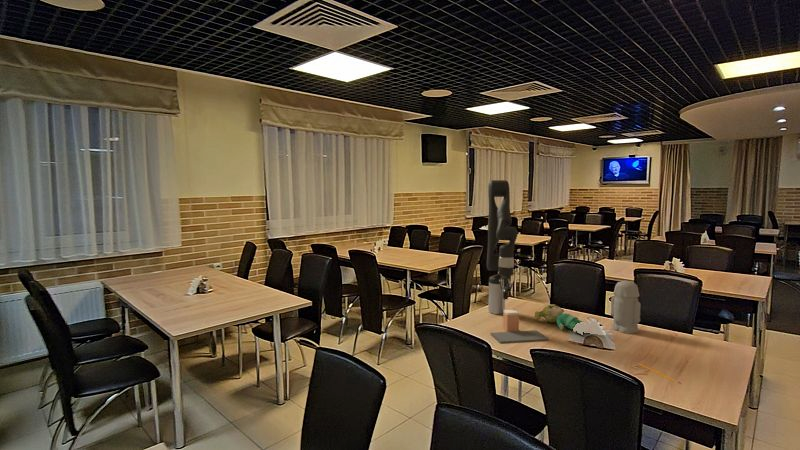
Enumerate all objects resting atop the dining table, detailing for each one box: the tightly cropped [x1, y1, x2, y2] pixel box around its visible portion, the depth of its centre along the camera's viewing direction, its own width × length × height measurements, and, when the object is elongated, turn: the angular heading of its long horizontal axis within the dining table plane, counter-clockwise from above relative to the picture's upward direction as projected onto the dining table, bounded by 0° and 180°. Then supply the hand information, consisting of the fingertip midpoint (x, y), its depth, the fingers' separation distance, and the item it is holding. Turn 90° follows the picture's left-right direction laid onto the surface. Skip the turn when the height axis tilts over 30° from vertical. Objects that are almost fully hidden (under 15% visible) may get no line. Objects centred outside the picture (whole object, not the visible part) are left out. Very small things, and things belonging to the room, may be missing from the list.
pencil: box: [636, 362, 681, 384], centre depth 165 cm, size 1×19×1 cm, turn 18°
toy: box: [534, 303, 583, 331], centre depth 219 cm, size 17×10×30 cm
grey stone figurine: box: [610, 280, 642, 335], centre depth 213 cm, size 15×10×25 cm
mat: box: [490, 329, 549, 344], centre depth 204 cm, size 12×24×1 cm, turn 99°
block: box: [502, 309, 520, 332], centre depth 213 cm, size 5×6×10 cm
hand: (505, 299), depth 219 cm, fingers closed
